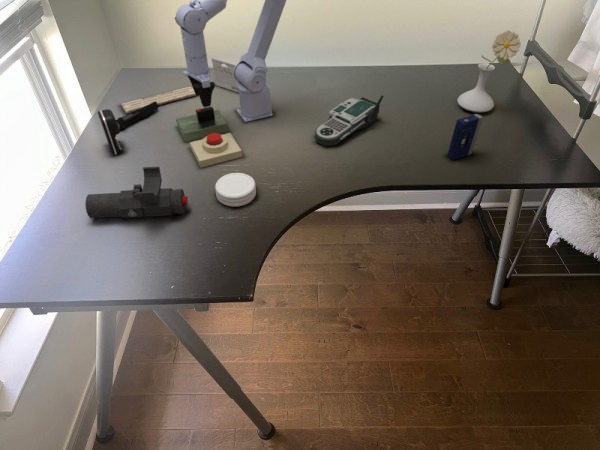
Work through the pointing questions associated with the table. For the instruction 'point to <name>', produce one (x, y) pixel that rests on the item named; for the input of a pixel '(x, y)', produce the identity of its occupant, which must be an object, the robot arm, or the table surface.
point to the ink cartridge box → (224, 75)
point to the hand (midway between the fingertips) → (203, 100)
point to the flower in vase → (478, 97)
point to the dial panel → (201, 126)
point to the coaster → (235, 189)
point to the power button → (214, 139)
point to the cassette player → (464, 136)
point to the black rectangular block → (205, 114)
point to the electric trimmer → (136, 115)
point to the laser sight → (139, 199)
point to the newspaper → (158, 99)
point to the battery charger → (110, 130)
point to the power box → (215, 151)
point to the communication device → (347, 120)
